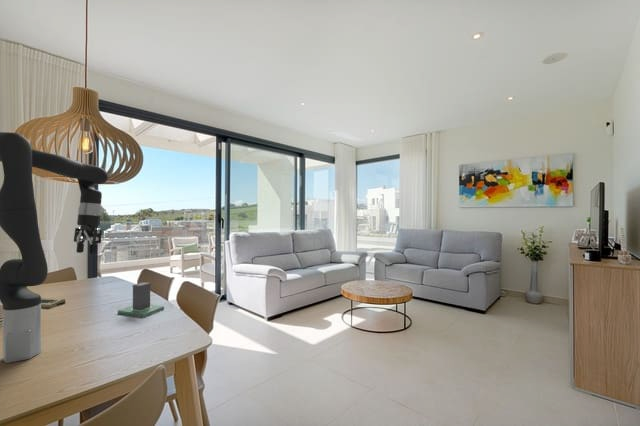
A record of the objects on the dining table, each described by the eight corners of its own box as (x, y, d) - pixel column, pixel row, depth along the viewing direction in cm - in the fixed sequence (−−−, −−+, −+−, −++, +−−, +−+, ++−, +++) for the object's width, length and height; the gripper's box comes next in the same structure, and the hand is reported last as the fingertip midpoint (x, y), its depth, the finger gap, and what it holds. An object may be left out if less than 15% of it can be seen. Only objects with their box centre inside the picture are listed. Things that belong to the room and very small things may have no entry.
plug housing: (150, 306, 147) (150, 283, 146) (140, 310, 141) (140, 285, 141) (142, 305, 148) (142, 282, 148) (132, 309, 143) (132, 284, 142)
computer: (22, 307, 148) (22, 301, 148) (39, 302, 157) (39, 296, 157) (50, 309, 147) (50, 302, 147) (65, 304, 155) (65, 297, 155)
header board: (164, 309, 148) (164, 298, 148) (143, 317, 137) (143, 305, 136) (139, 305, 153) (139, 295, 152) (117, 313, 141) (117, 302, 141)
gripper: (69, 213, 122) (65, 252, 121) (90, 213, 116) (86, 254, 115) (89, 214, 129) (85, 251, 128) (109, 215, 123) (106, 253, 122)
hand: (86, 253), depth 121 cm, fingers open, 8 cm apart
